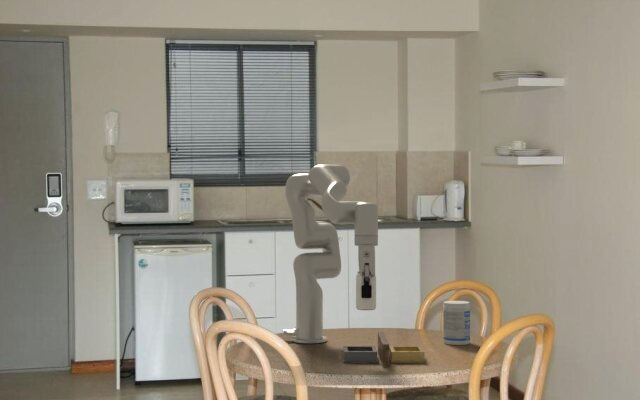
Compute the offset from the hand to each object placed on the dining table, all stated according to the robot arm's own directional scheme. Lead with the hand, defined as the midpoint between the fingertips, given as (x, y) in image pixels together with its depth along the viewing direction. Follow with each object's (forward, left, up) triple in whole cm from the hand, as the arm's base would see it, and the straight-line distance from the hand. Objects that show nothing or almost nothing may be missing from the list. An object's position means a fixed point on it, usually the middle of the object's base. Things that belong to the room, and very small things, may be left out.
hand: (366, 296), depth 313 cm
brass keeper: (+13, 0, -21) cm, 24 cm away
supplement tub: (+34, +30, -21) cm, 50 cm away
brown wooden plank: (+6, 0, -21) cm, 21 cm away
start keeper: (-2, 0, -21) cm, 21 cm away
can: (0, 0, -4) cm, 4 cm away
